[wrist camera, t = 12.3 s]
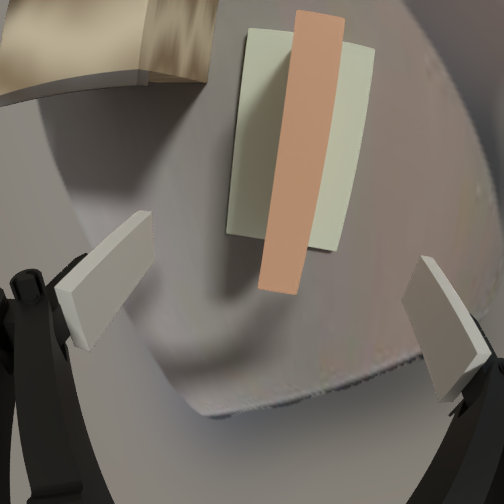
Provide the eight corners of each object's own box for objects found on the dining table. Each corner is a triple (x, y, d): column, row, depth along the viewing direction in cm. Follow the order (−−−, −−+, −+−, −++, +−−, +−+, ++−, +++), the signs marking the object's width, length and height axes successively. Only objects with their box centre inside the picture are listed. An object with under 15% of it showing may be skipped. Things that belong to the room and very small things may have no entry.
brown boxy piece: (110, -33, 16) (33, -67, 5) (227, -51, 15) (185, -124, 4) (90, 95, 23) (-5, 107, 12) (206, 91, 22) (136, 85, 11)
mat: (250, 30, 19) (248, 28, 18) (372, 50, 19) (375, 49, 18) (228, 229, 28) (226, 233, 27) (335, 247, 27) (336, 251, 26)
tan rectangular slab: (295, 44, 19) (296, 9, 11) (326, 49, 19) (345, 18, 11) (269, 230, 26) (257, 288, 18) (296, 234, 26) (296, 294, 18)
